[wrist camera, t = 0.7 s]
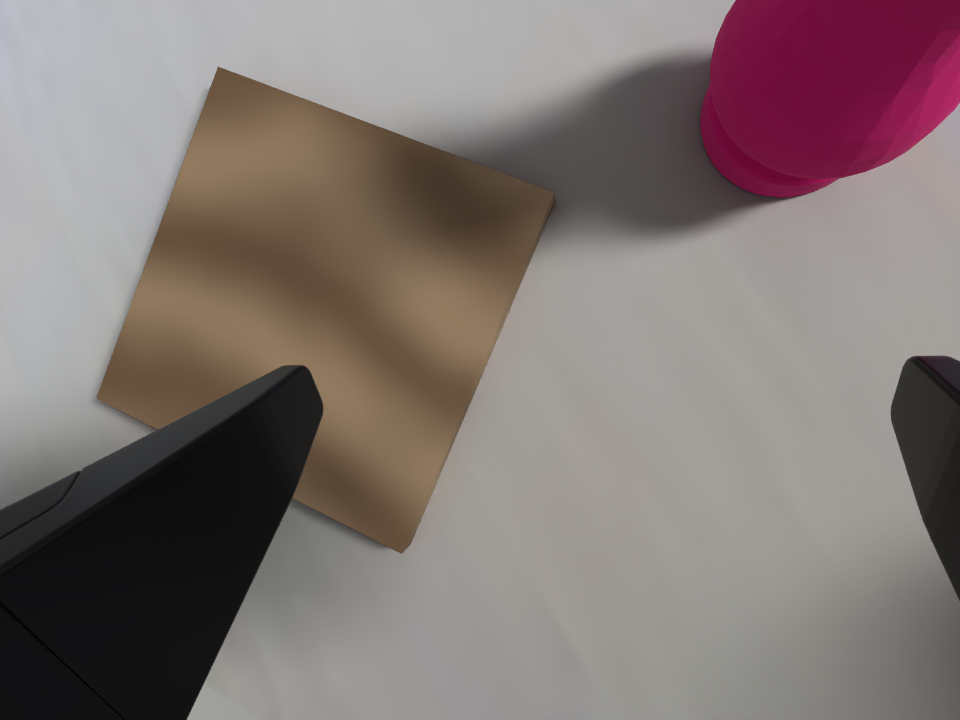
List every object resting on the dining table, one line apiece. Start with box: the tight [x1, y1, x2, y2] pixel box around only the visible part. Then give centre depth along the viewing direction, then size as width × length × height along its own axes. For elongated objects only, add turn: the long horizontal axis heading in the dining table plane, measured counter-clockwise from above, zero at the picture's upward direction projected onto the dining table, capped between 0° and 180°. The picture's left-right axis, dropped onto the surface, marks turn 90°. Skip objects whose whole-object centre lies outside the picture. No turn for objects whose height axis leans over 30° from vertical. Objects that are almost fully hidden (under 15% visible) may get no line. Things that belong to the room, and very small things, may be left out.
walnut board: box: [97, 67, 556, 554], centre depth 24 cm, size 16×16×1 cm
